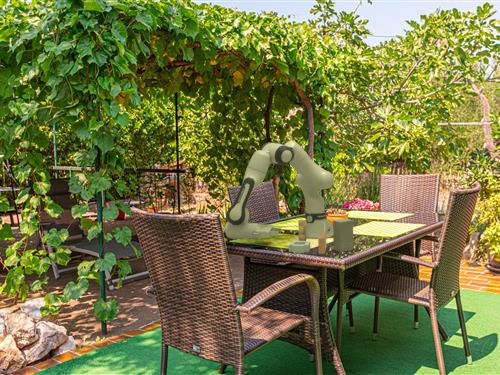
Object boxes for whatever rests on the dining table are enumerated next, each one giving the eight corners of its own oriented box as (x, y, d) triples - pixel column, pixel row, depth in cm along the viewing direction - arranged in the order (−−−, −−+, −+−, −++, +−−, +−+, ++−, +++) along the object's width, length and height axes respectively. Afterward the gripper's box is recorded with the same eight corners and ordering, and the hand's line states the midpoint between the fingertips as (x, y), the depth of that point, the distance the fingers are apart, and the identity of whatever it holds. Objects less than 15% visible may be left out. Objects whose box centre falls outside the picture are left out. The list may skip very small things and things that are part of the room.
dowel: (301, 245, 273) (301, 219, 272) (307, 246, 271) (307, 220, 270) (297, 246, 270) (296, 220, 269) (303, 247, 268) (303, 221, 267)
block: (288, 252, 254) (288, 245, 254) (291, 247, 268) (291, 240, 268) (308, 252, 252) (308, 246, 252) (310, 247, 266) (310, 240, 266)
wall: (318, 254, 249) (318, 238, 249) (320, 247, 267) (320, 232, 266) (324, 254, 249) (324, 238, 248) (326, 247, 266) (326, 232, 266)
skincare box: (346, 248, 262) (346, 218, 261) (354, 251, 256) (354, 219, 255) (332, 250, 259) (332, 219, 258) (340, 252, 253) (339, 221, 251)
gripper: (250, 228, 264) (277, 228, 262) (257, 222, 284) (282, 222, 282) (251, 240, 265) (277, 240, 262) (258, 233, 285) (282, 234, 282)
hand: (280, 231), depth 272 cm, fingers open, 8 cm apart
